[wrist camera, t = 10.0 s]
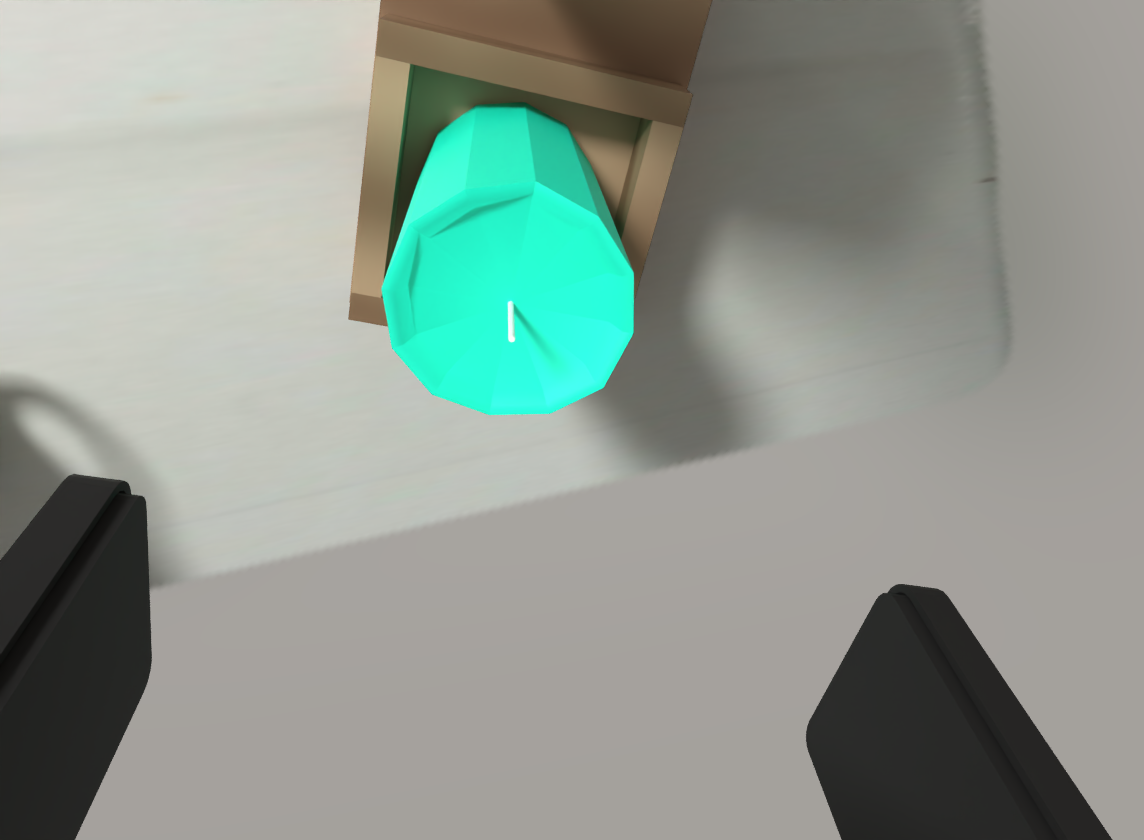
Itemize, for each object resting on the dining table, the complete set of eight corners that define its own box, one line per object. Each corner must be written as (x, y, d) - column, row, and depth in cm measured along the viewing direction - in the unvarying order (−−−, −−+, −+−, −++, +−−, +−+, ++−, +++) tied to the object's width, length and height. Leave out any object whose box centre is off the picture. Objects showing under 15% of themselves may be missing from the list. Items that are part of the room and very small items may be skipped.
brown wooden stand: (444, -507, 21) (365, -1132, 9) (797, -380, 23) (1145, -751, 11) (359, 277, 32) (269, 495, 19) (606, 323, 34) (668, 550, 21)
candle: (629, 184, 28) (703, 326, 18) (516, 306, 30) (524, 496, 20) (497, 58, 26) (494, 138, 16) (383, 199, 28) (315, 352, 18)
